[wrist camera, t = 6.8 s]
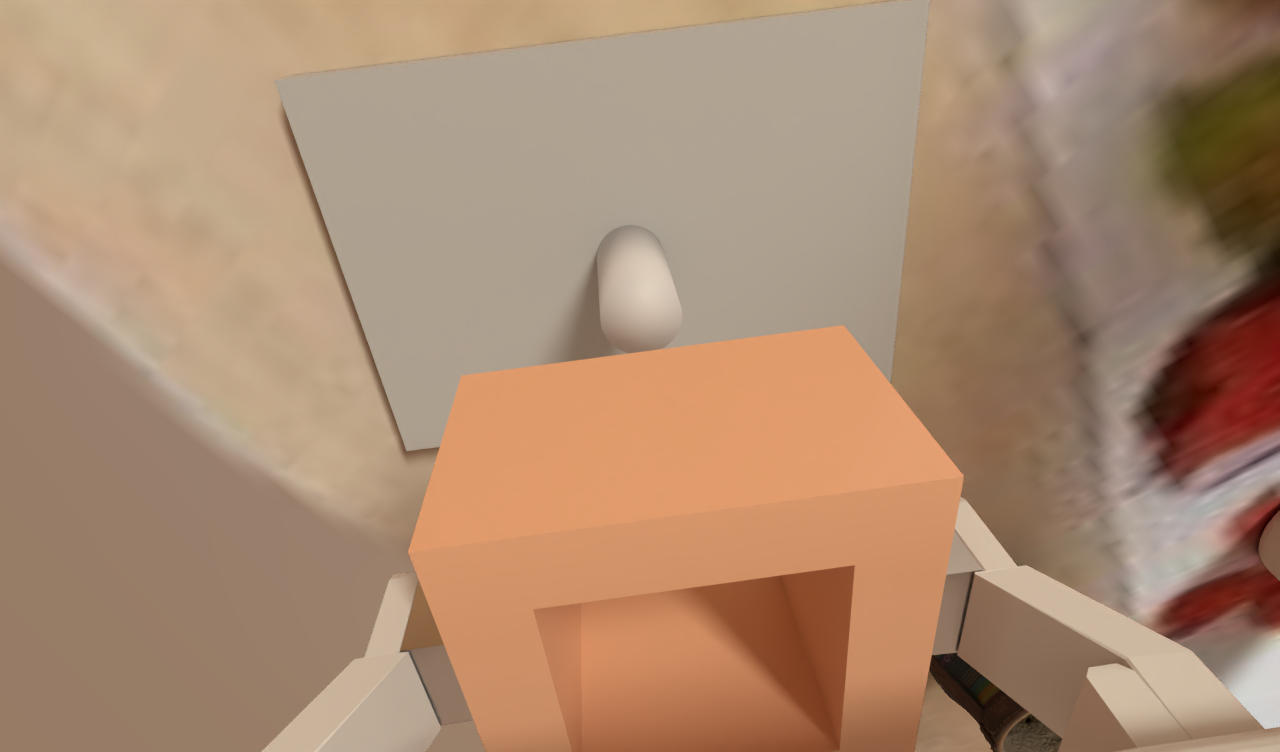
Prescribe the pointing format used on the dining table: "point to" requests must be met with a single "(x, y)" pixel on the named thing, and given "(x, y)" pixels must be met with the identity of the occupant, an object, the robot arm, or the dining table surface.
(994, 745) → the mate gourd
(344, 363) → the dining table surface
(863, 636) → the collar
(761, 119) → the peg board
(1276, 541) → the coffee cup
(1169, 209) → the dining table surface
